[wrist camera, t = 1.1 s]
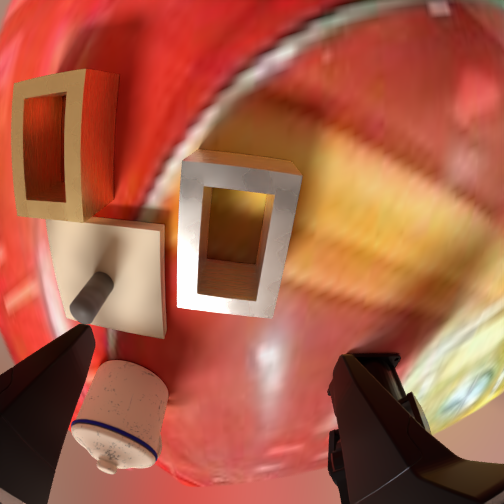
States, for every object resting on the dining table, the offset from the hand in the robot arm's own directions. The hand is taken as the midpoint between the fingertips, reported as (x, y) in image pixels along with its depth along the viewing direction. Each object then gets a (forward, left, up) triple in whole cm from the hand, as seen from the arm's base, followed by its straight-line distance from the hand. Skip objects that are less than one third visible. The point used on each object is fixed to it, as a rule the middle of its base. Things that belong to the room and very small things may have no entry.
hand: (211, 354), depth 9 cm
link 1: (+12, -5, -12) cm, 18 cm away
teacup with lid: (+9, +22, -12) cm, 26 cm away
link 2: (0, 0, -12) cm, 12 cm away
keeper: (+10, +6, -12) cm, 16 cm away
